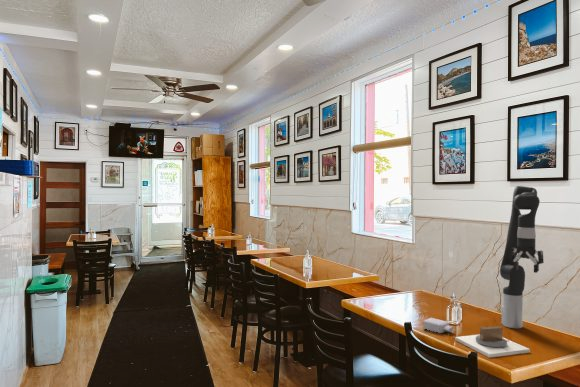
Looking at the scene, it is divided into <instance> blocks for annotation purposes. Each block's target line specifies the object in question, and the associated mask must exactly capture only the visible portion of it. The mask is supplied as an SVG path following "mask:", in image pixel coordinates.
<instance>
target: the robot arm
mask: <svg viewBox="0 0 580 387" xmlns="http://www.w3.org/2000/svg"><path fill="white" fill-rule="evenodd" d="M539 206H540V198H539V196H538V191H537V189H536V188H535V187H529V186H522V185H517V186H515V187H514V190H513V194H512V204H511V211H510V212H511V213H510V218H509V224H508V229H507V237H506V243H505V246H504V253H503V256H502V260H501V263H500V268H499V274H500V276H501V278H502V279H504V280H507V281H508V286H504V287H503V288H502V306H501V311H500V312H501V320H500V321H501V325H502V326H504V327H506V328H509V329H510V328H511V329H522V328H523V300H524V299H523V297H524V296H523V294H524V293H523V292H524V290H525V286H526V285H525V282H526V271H525V268H524V267H523V266H522V265H520V264H519V261H520V260H521V259H528V260H530V261H531V262H533V273H535V274H536V273H538V272H539V270H540V267H539V266H540V265H542V264H544V261H545V260H544V251H543V250H536V237H537V236H536V235H537V234H536V215H537V211H538V208H539ZM521 210H523V211H524V210H525V211H528V210H529V211H530V212H528V213H524V214H522V213H521ZM536 255H537V257H536Z"/></svg>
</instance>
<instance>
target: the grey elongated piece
mask: <svg viewBox="0 0 580 387" xmlns="http://www.w3.org/2000/svg"><path fill="white" fill-rule="evenodd" d="M422 324H423V330H425V329H427V330H426V331H429V330H430V331H429V332H433V331H434V332H433V333H436V332H438V333H437V334H442V333H445V332H448V333H452V332H455V331H457V329H455V328H454V326H450V325H449V322H448V321H446V320H441V319H438V318H434V317H429V318H427V319H425V320H423V323H422Z"/></svg>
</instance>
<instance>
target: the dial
mask: <svg viewBox="0 0 580 387" xmlns="http://www.w3.org/2000/svg"><path fill="white" fill-rule="evenodd" d="M479 334H480V335H479ZM479 334H477V335H478V336H476V342H477V343H479V344H481V345H483V346H487V347H493V348H503V347H506V346H507V341H506V340H505V339H506V338H505V337H503V327H502V326H497V325H496V326H486V327H485V326H483V327H481V326H480V327H479ZM502 337H503V338H502ZM504 338H505V339H504Z"/></svg>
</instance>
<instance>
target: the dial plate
mask: <svg viewBox="0 0 580 387" xmlns="http://www.w3.org/2000/svg"><path fill="white" fill-rule="evenodd" d="M478 335H480V333H479V334H471V335H462V336H455V337H454V339H455V342H458V343H460V344H461V345H464V346H466V347H468V348H469V349H472V350H473V351H475V352H477V353H479V354H481V355H483V356H485V357H487V358H488V359H489V358H496V357H503V356H511V355H521V354H527V353H529V354H530V353H531V350H530V348H529V347H526V346H524V345H521V344H519V343H516V342H514V341H511V340H510V339H508V338H505V337H504V336H502V338H504V339H505V340H506V341H507V346H506V347H503V348H493V347H487V346H483V345H481V344H479V343H477V342H476V336H478Z"/></svg>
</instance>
